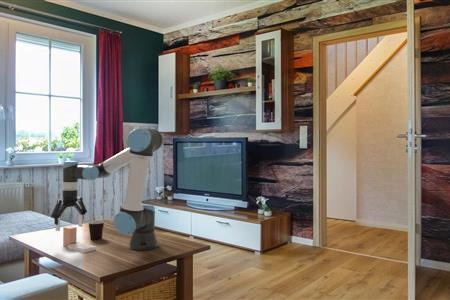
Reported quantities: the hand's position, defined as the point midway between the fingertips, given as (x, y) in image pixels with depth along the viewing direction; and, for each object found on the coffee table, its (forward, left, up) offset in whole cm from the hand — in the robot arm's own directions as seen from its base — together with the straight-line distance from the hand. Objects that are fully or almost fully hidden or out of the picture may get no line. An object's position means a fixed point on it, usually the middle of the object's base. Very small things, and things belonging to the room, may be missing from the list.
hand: (69, 228), depth 201 cm
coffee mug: (+1, -19, -10) cm, 22 cm away
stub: (0, 0, -9) cm, 9 cm away
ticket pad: (-11, 0, -10) cm, 15 cm away
